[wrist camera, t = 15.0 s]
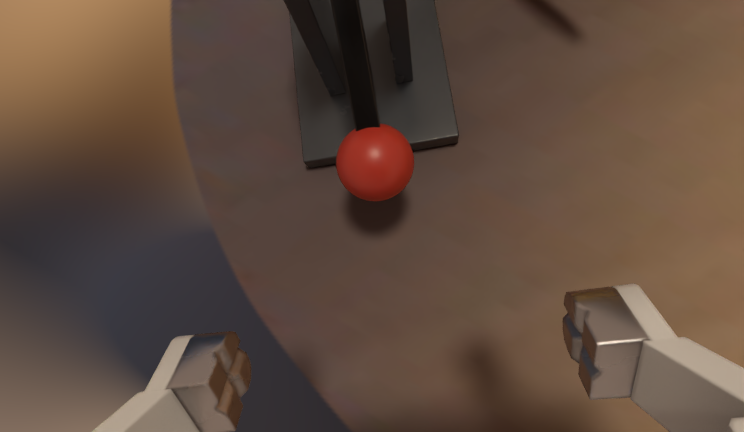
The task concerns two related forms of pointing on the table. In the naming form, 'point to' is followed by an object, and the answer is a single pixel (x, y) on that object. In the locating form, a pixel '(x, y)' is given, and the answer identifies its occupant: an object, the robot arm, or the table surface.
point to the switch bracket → (389, 70)
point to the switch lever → (367, 119)
